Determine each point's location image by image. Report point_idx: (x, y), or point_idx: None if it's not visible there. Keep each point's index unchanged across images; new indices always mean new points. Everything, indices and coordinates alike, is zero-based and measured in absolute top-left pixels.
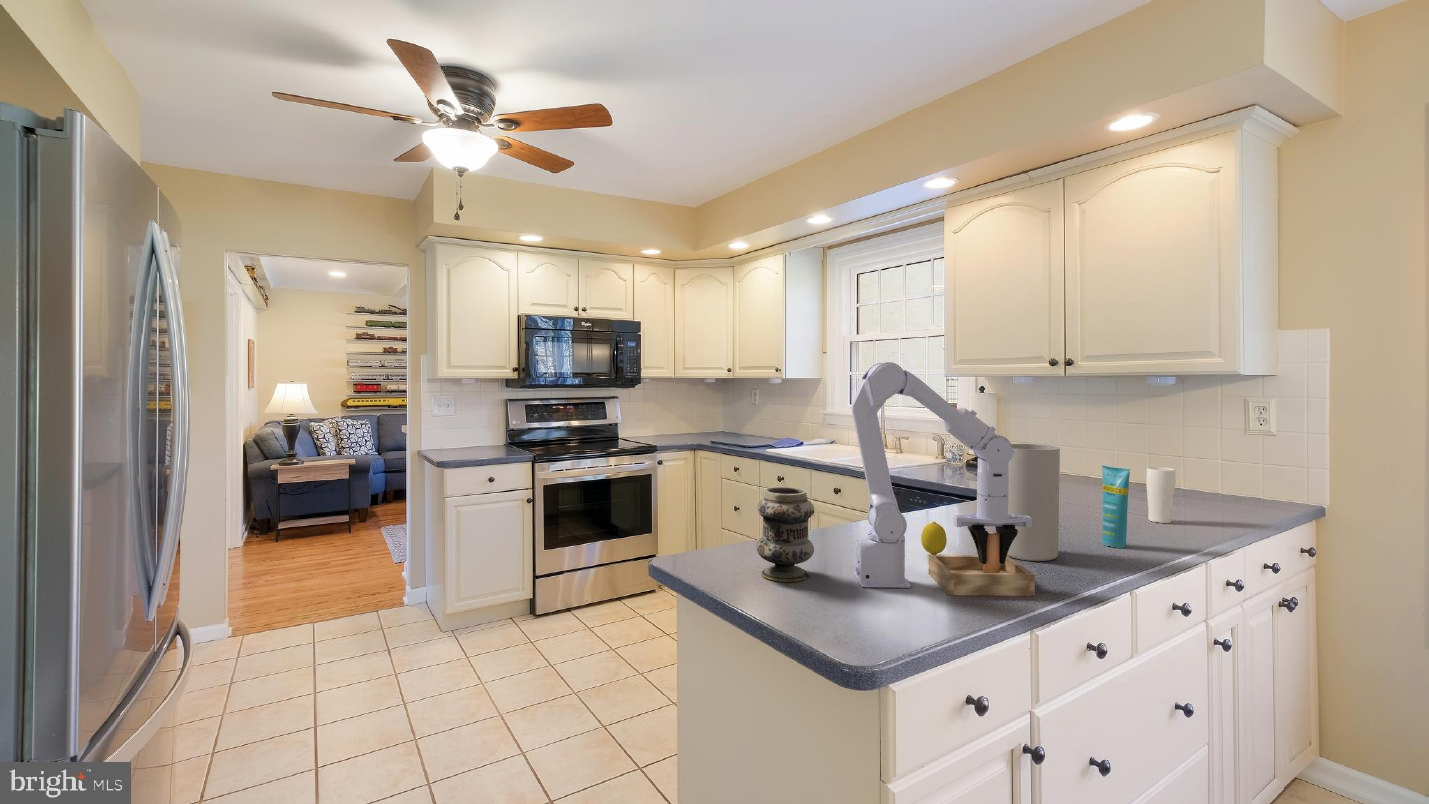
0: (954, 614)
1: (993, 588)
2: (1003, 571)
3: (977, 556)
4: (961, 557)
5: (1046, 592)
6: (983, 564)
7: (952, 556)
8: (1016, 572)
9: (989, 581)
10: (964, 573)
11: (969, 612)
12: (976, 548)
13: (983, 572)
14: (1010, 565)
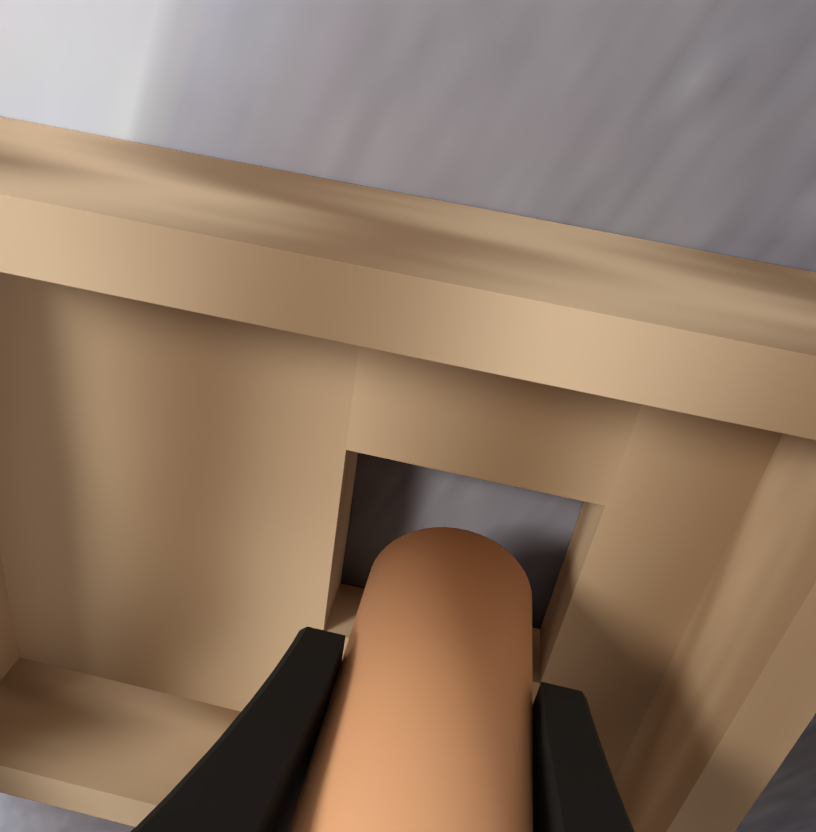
0: (7, 820)
1: None
2: (723, 455)
3: (449, 353)
4: (193, 306)
5: (790, 751)
6: (349, 637)
7: (47, 280)
8: (684, 709)
9: None
10: (43, 789)
11: (86, 824)
12: (213, 747)
13: (369, 573)
14: (754, 619)
